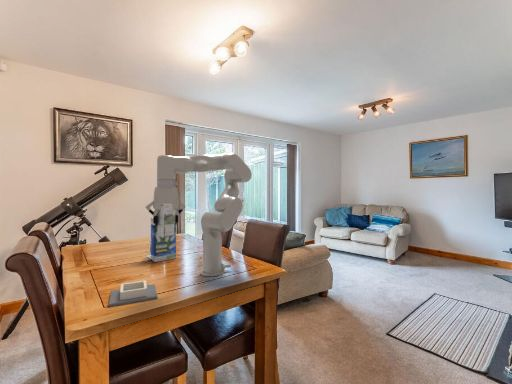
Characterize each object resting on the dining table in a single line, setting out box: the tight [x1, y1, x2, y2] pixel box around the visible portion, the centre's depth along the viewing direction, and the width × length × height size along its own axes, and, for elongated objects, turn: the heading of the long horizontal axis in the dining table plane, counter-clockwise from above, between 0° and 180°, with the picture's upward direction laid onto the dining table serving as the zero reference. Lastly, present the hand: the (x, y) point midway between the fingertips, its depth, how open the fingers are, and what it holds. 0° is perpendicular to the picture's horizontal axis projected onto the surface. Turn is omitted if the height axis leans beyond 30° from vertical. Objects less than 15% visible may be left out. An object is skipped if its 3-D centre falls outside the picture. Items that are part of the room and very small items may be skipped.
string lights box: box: [150, 216, 177, 263], centre depth 161 cm, size 13×8×26 cm, turn 131°
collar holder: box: [108, 279, 159, 308], centre depth 108 cm, size 17×14×4 cm
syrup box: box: [156, 203, 175, 237], centre depth 115 cm, size 6×6×14 cm
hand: (165, 224), depth 115 cm, fingers closed on syrup box, 7 cm apart
